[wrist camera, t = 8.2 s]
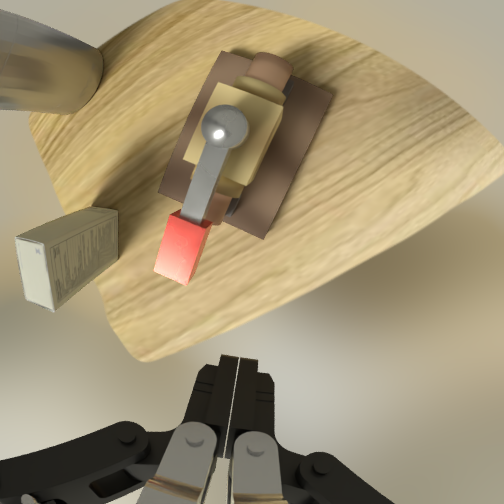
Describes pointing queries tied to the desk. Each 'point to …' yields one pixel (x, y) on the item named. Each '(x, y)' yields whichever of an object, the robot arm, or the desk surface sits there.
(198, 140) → the valve rig
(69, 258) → the skincare box
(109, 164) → the desk surface
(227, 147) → the valve lever
